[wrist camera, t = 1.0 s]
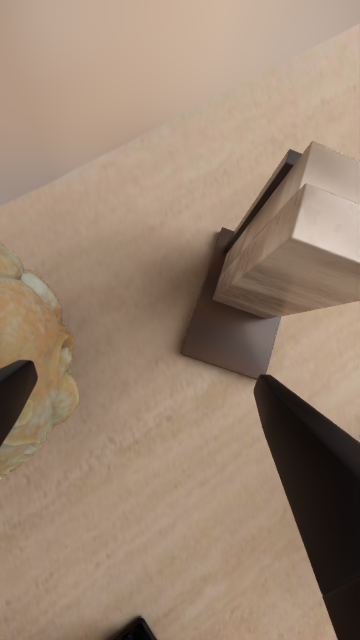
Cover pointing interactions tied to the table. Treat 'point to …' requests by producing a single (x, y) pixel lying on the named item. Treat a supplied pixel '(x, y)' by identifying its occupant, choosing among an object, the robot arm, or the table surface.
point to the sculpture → (34, 357)
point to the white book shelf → (280, 260)
